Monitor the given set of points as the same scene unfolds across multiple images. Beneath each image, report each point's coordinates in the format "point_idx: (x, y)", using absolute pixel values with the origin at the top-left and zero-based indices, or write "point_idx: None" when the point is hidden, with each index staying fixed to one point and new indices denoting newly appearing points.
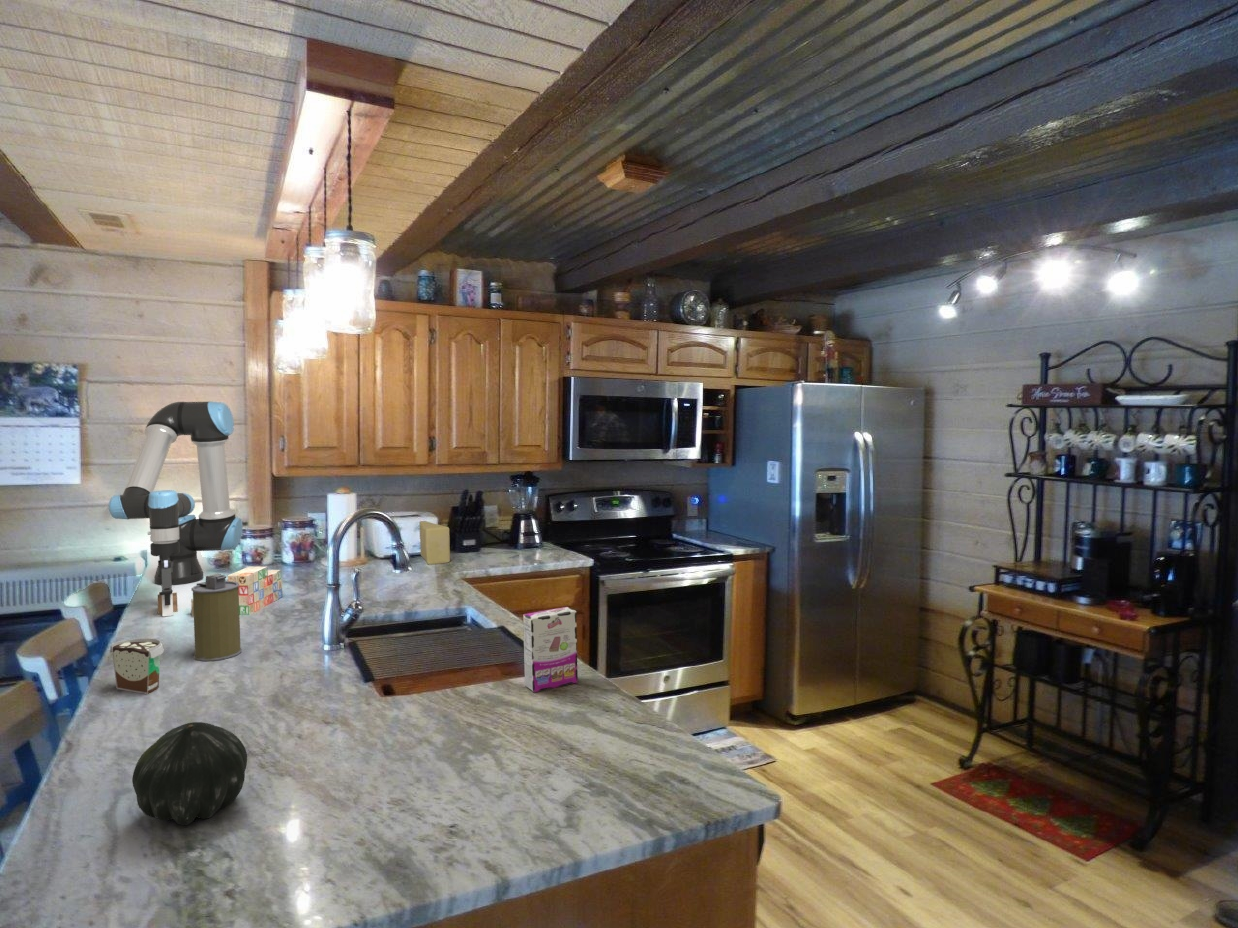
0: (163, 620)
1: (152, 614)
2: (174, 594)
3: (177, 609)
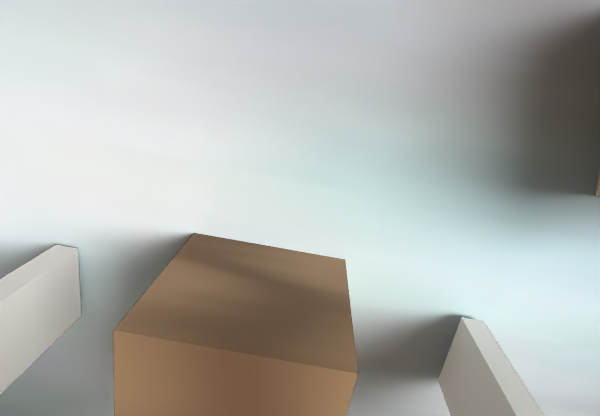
0: (567, 393)
1: None
2: (236, 375)
3: (344, 270)
